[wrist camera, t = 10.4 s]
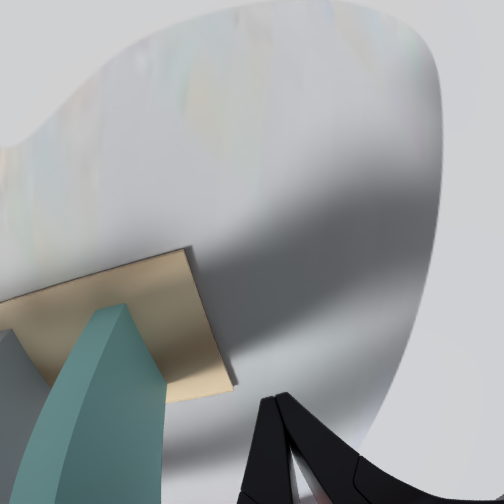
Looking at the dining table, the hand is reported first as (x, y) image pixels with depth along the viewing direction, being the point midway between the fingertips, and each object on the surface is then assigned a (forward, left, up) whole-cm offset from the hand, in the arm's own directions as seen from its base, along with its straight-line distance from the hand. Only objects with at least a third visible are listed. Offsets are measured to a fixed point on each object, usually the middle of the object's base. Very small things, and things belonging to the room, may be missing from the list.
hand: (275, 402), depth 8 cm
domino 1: (0, +14, -5) cm, 15 cm away
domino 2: (0, +6, -5) cm, 7 cm away
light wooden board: (0, +17, -5) cm, 18 cm away
